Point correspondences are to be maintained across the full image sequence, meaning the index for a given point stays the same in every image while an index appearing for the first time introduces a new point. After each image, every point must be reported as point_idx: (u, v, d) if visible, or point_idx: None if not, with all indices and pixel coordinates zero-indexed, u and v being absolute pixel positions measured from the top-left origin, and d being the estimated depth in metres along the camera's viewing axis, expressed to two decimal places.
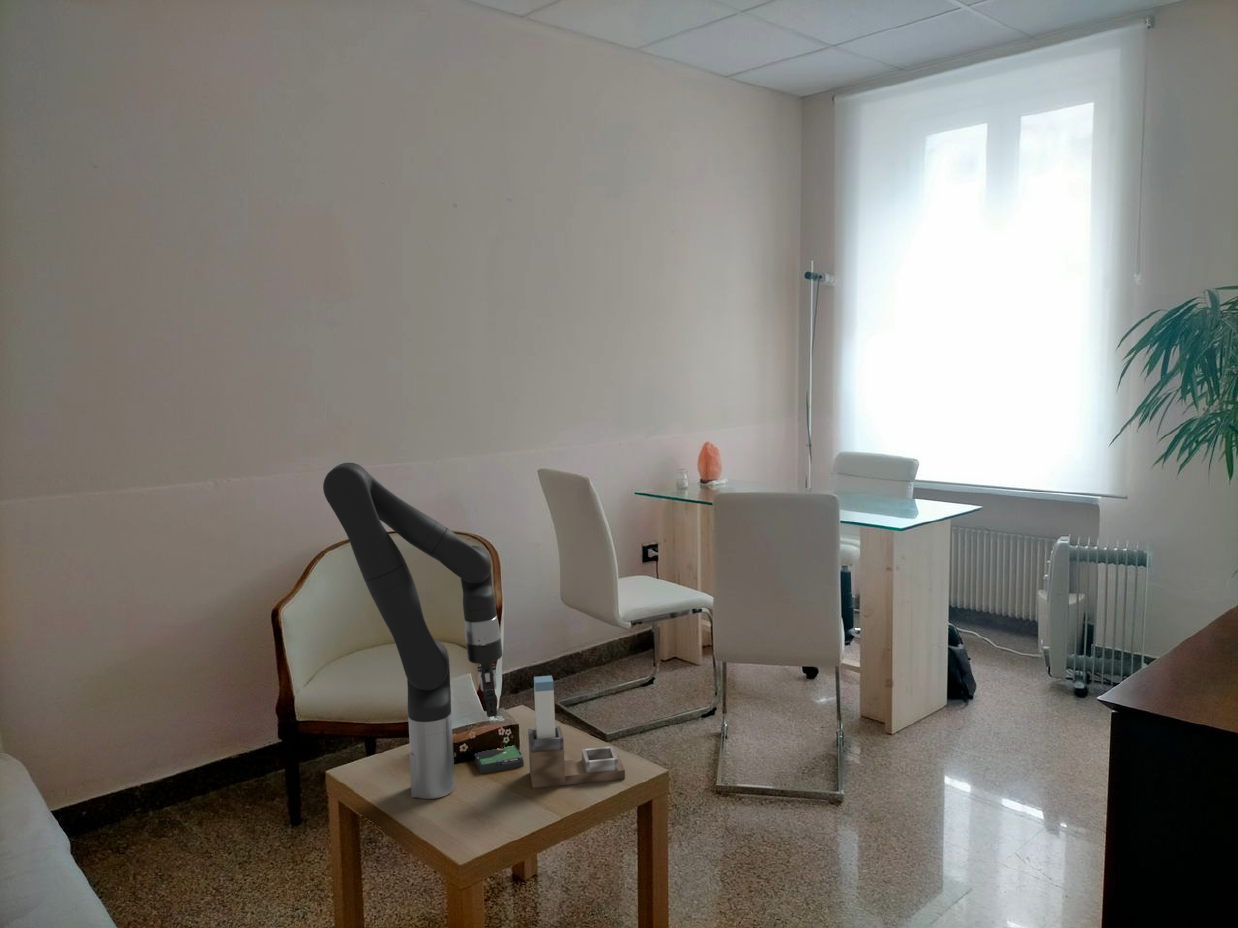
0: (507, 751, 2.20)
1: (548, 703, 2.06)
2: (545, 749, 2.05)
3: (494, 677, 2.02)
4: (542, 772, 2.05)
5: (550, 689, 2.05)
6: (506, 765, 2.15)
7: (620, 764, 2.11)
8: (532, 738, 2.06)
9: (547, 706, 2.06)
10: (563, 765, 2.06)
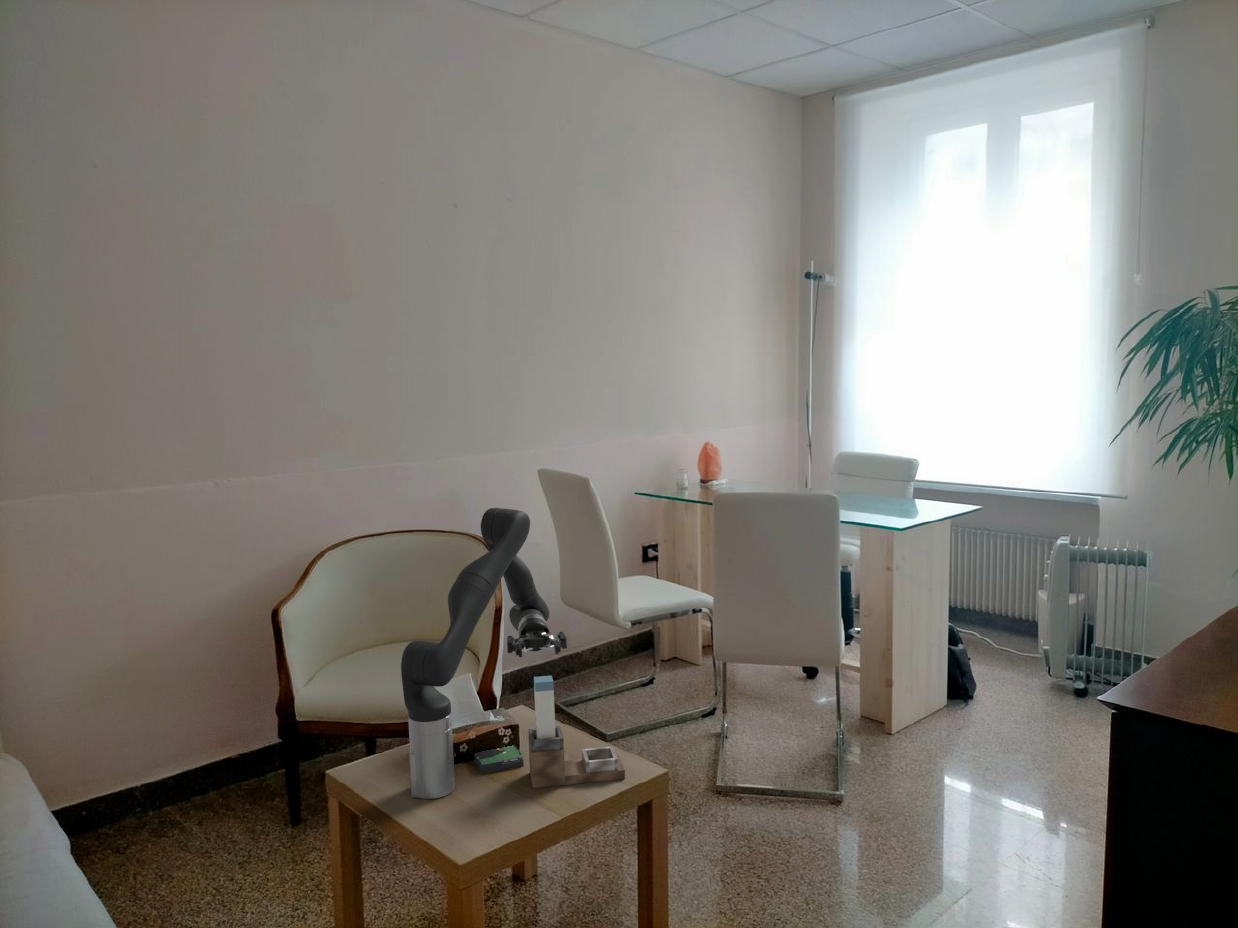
0: (507, 751, 2.20)
1: (548, 703, 2.06)
2: (545, 749, 2.05)
3: None
4: (542, 772, 2.05)
5: (550, 689, 2.05)
6: (506, 765, 2.15)
7: (620, 764, 2.11)
8: (532, 738, 2.06)
9: (547, 706, 2.06)
10: (563, 765, 2.06)
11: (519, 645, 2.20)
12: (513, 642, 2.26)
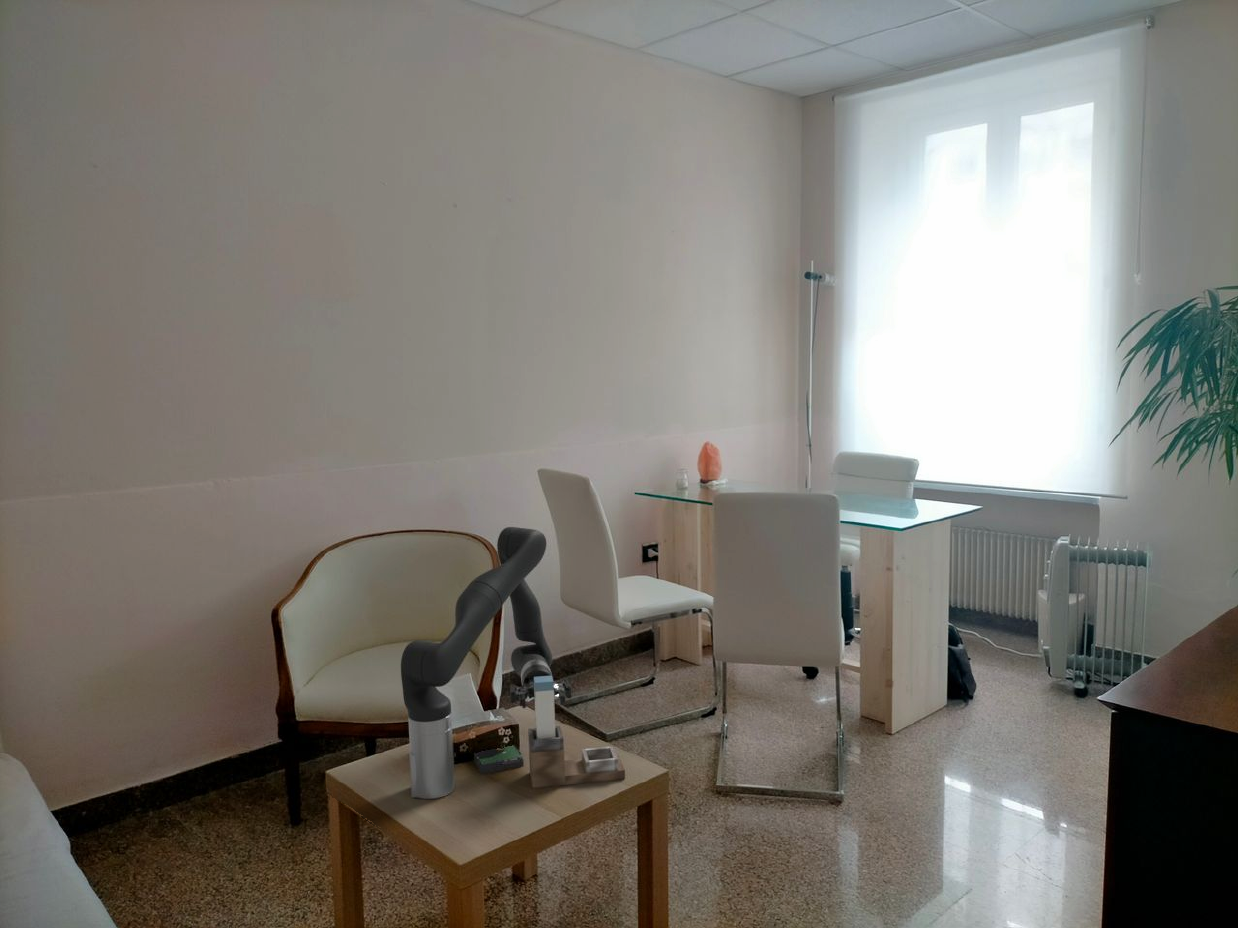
0: (506, 751, 2.20)
1: (548, 703, 2.06)
2: (545, 749, 2.05)
3: None
4: (542, 772, 2.05)
5: (550, 689, 2.05)
6: (506, 765, 2.15)
7: (620, 764, 2.11)
8: (532, 738, 2.06)
9: (547, 706, 2.06)
10: (563, 765, 2.06)
11: (522, 695, 2.12)
12: (516, 691, 2.18)
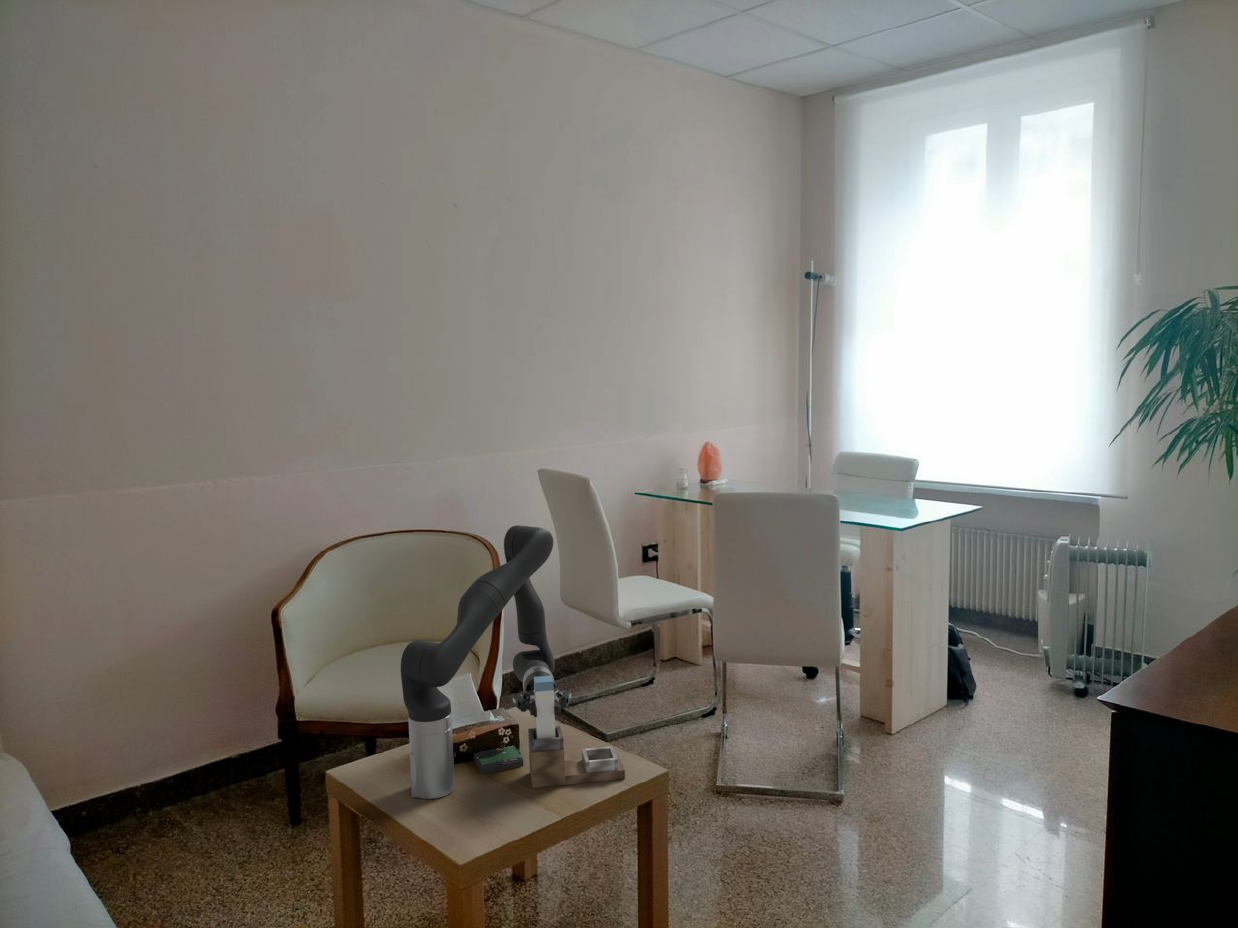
0: (506, 751, 2.20)
1: (548, 703, 2.06)
2: (545, 749, 2.05)
3: None
4: (542, 772, 2.05)
5: (550, 689, 2.05)
6: (506, 765, 2.15)
7: (620, 764, 2.11)
8: (532, 738, 2.06)
9: (547, 706, 2.06)
10: (563, 765, 2.06)
11: (534, 704, 2.07)
12: None
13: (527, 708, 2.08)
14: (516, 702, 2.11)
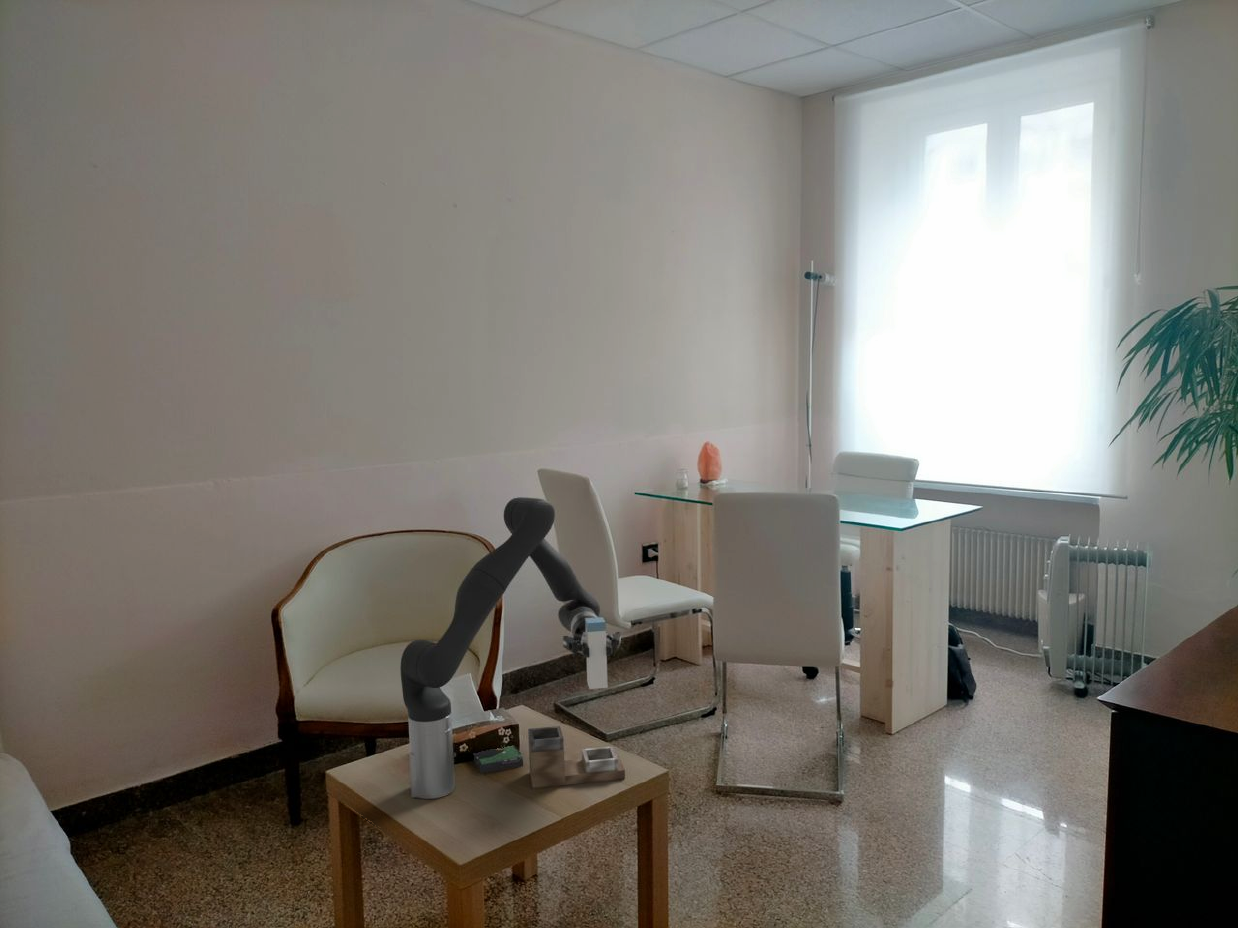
0: (506, 750, 2.20)
1: (600, 644, 2.06)
2: (545, 749, 2.05)
3: None
4: (542, 772, 2.05)
5: (602, 630, 2.06)
6: (506, 764, 2.15)
7: (620, 764, 2.11)
8: (532, 738, 2.06)
9: (599, 646, 2.06)
10: (563, 765, 2.06)
11: (586, 645, 2.07)
12: None
13: (579, 649, 2.09)
14: (567, 644, 2.12)
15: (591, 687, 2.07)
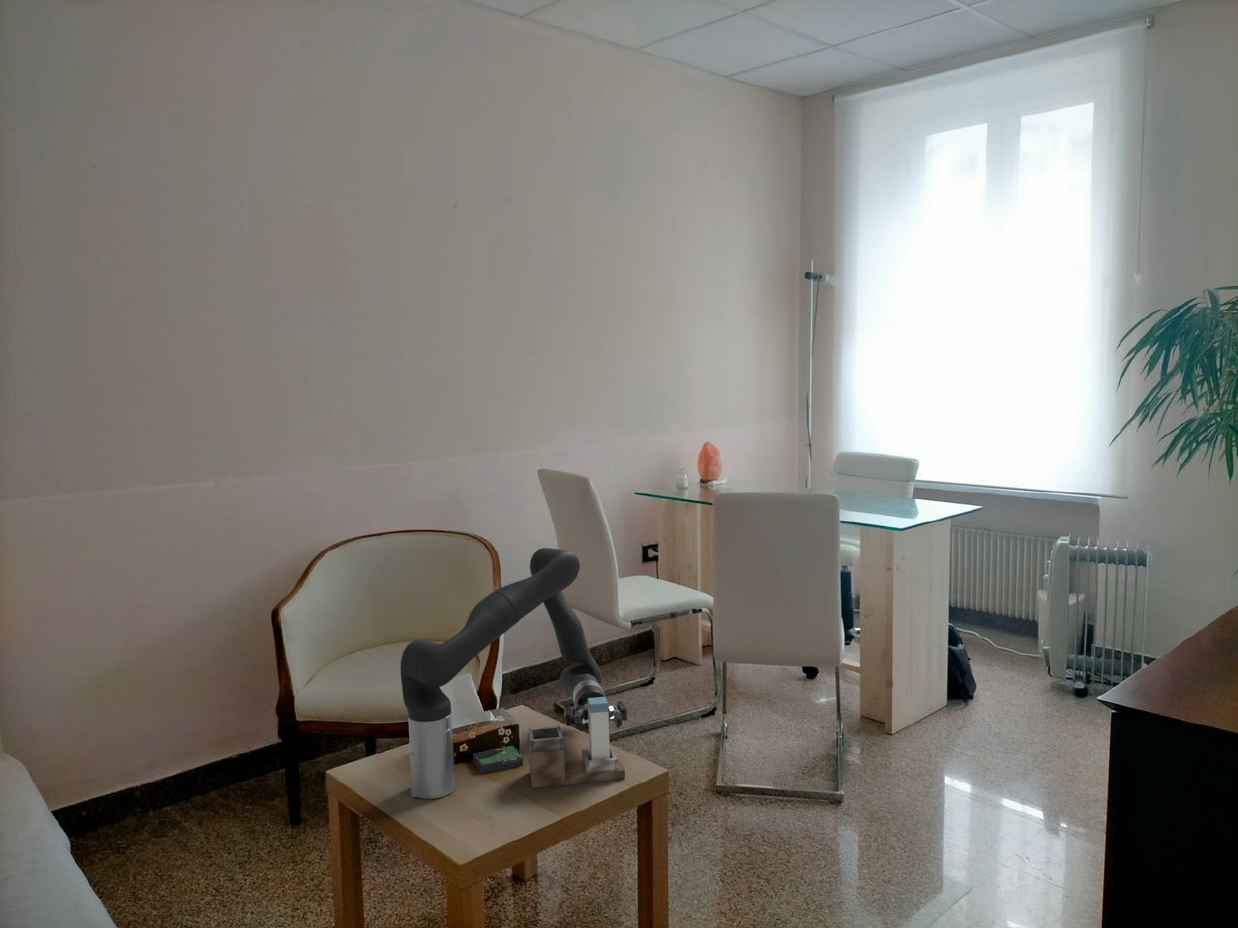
0: (505, 750, 2.20)
1: (603, 725, 2.08)
2: (545, 749, 2.05)
3: None
4: (542, 772, 2.05)
5: (605, 710, 2.08)
6: (506, 764, 2.15)
7: (620, 764, 2.11)
8: (532, 738, 2.06)
9: (602, 727, 2.08)
10: (563, 765, 2.06)
11: (579, 718, 2.10)
12: (571, 713, 2.15)
13: (572, 722, 2.11)
14: (565, 715, 2.15)
15: None
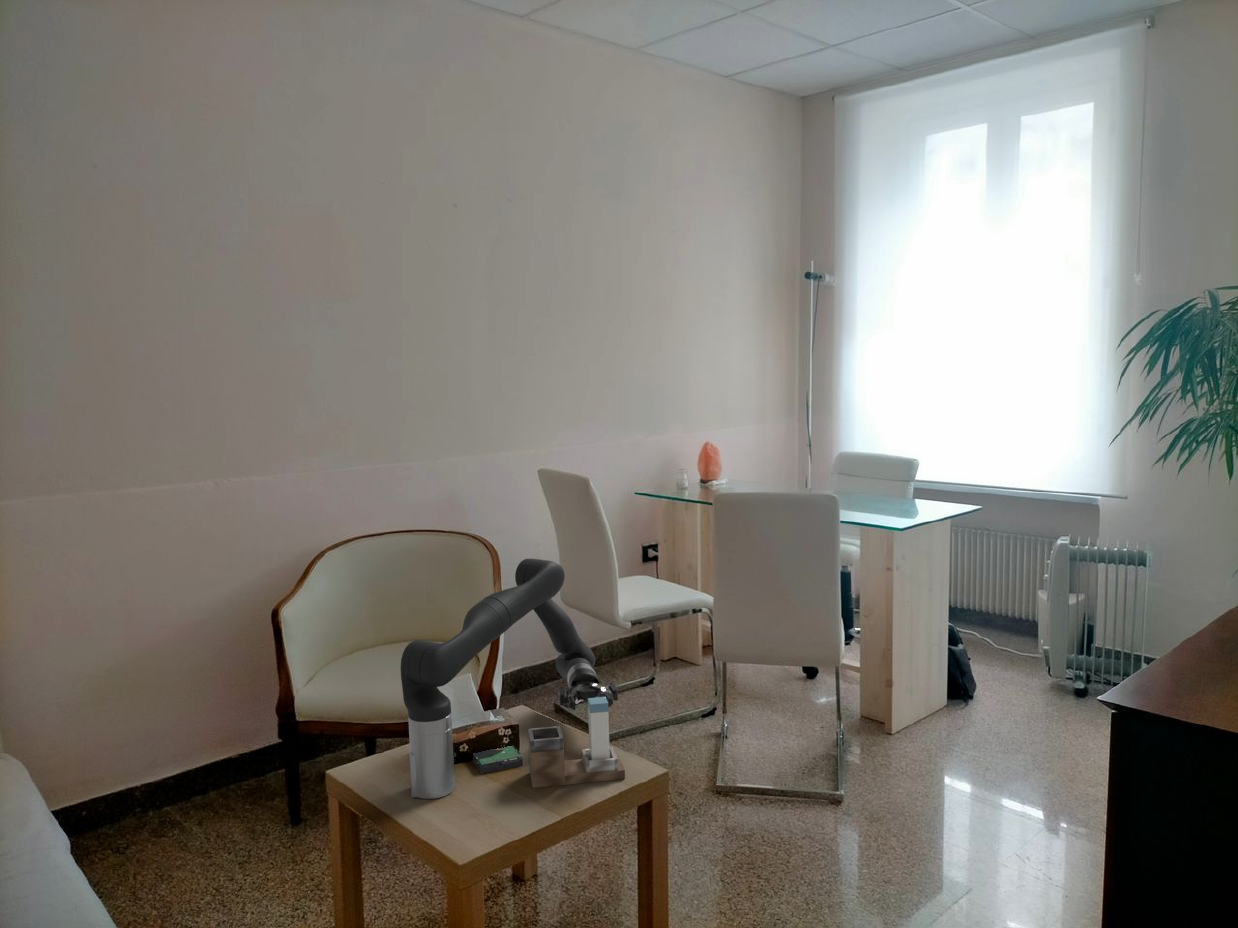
0: (505, 750, 2.20)
1: (603, 725, 2.08)
2: (545, 749, 2.05)
3: None
4: (542, 772, 2.05)
5: (605, 710, 2.08)
6: (506, 764, 2.15)
7: (620, 764, 2.11)
8: (532, 738, 2.06)
9: (602, 727, 2.08)
10: (563, 765, 2.06)
11: (572, 698, 2.23)
12: (565, 693, 2.28)
13: (565, 702, 2.24)
14: (559, 695, 2.28)
15: None
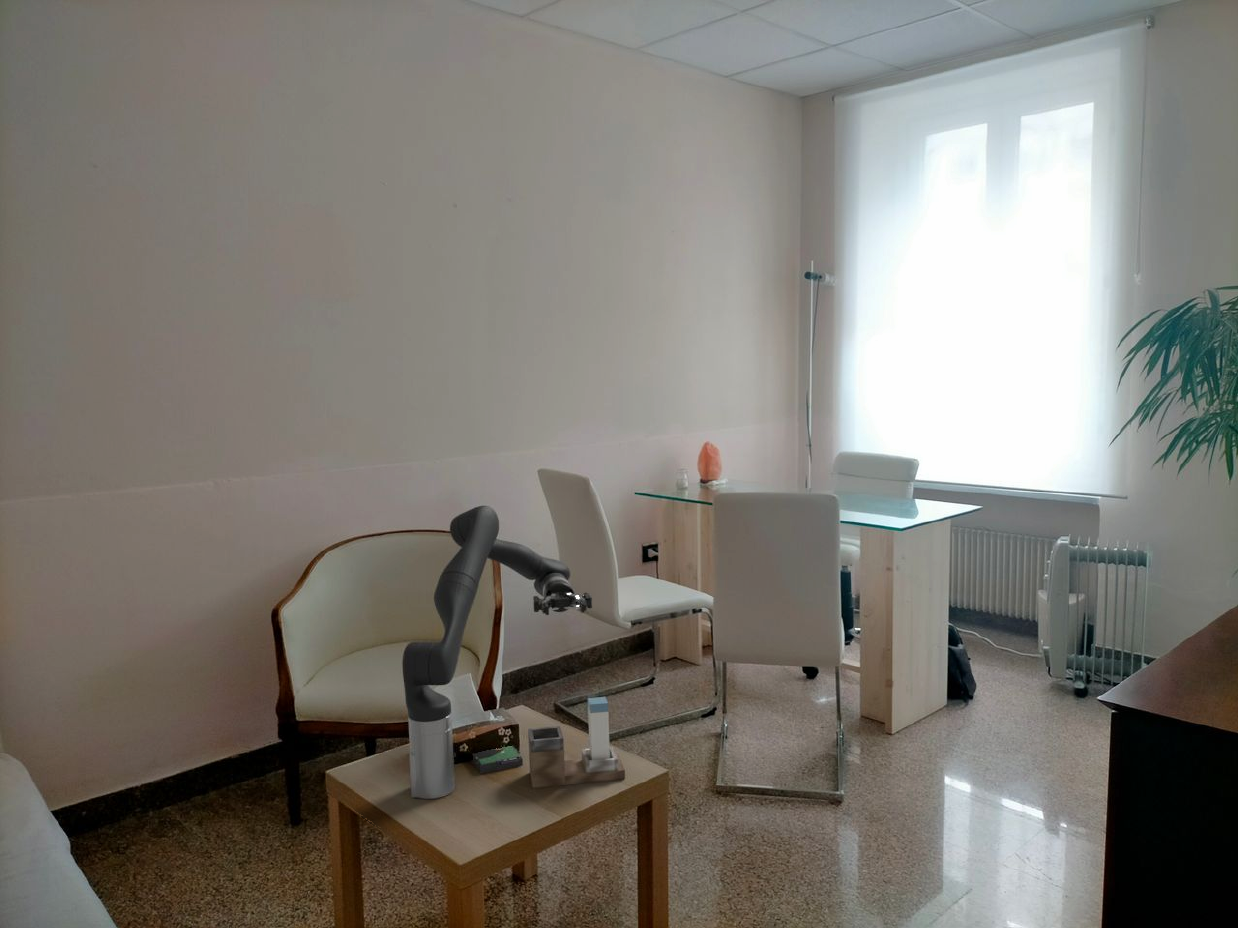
0: (505, 750, 2.20)
1: (603, 725, 2.08)
2: (545, 749, 2.05)
3: None
4: (542, 772, 2.05)
5: (605, 710, 2.08)
6: (505, 764, 2.15)
7: (620, 764, 2.11)
8: (532, 738, 2.06)
9: (602, 727, 2.08)
10: (563, 765, 2.06)
11: (546, 604, 2.24)
12: (539, 602, 2.30)
13: (539, 608, 2.26)
14: None
15: None
